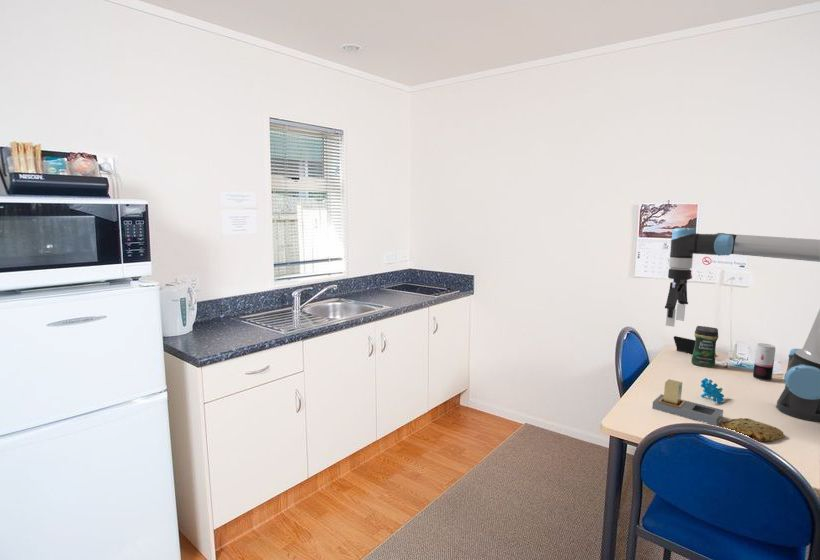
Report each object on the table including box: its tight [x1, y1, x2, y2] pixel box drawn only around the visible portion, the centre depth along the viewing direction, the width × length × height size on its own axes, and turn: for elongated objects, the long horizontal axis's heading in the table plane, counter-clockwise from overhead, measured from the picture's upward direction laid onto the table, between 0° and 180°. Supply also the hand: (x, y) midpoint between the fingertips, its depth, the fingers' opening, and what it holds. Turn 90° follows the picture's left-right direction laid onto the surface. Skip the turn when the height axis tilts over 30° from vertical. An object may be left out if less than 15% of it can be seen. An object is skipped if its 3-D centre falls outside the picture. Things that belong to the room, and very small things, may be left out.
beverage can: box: [752, 342, 777, 382], centre depth 202 cm, size 7×7×15 cm
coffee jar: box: [690, 325, 719, 368], centre depth 219 cm, size 10×8×19 cm
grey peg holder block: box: [652, 394, 724, 426], centre depth 167 cm, size 20×10×3 cm, turn 46°
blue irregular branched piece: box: [700, 377, 725, 404], centre depth 180 cm, size 11×6×10 cm
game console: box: [673, 335, 717, 356], centre depth 238 cm, size 16×14×9 cm
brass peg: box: [663, 379, 683, 406], centre depth 169 cm, size 4×4×10 cm
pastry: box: [720, 417, 785, 442], centre depth 153 cm, size 17×17×3 cm
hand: (675, 323), depth 180 cm, fingers open, 13 cm apart
